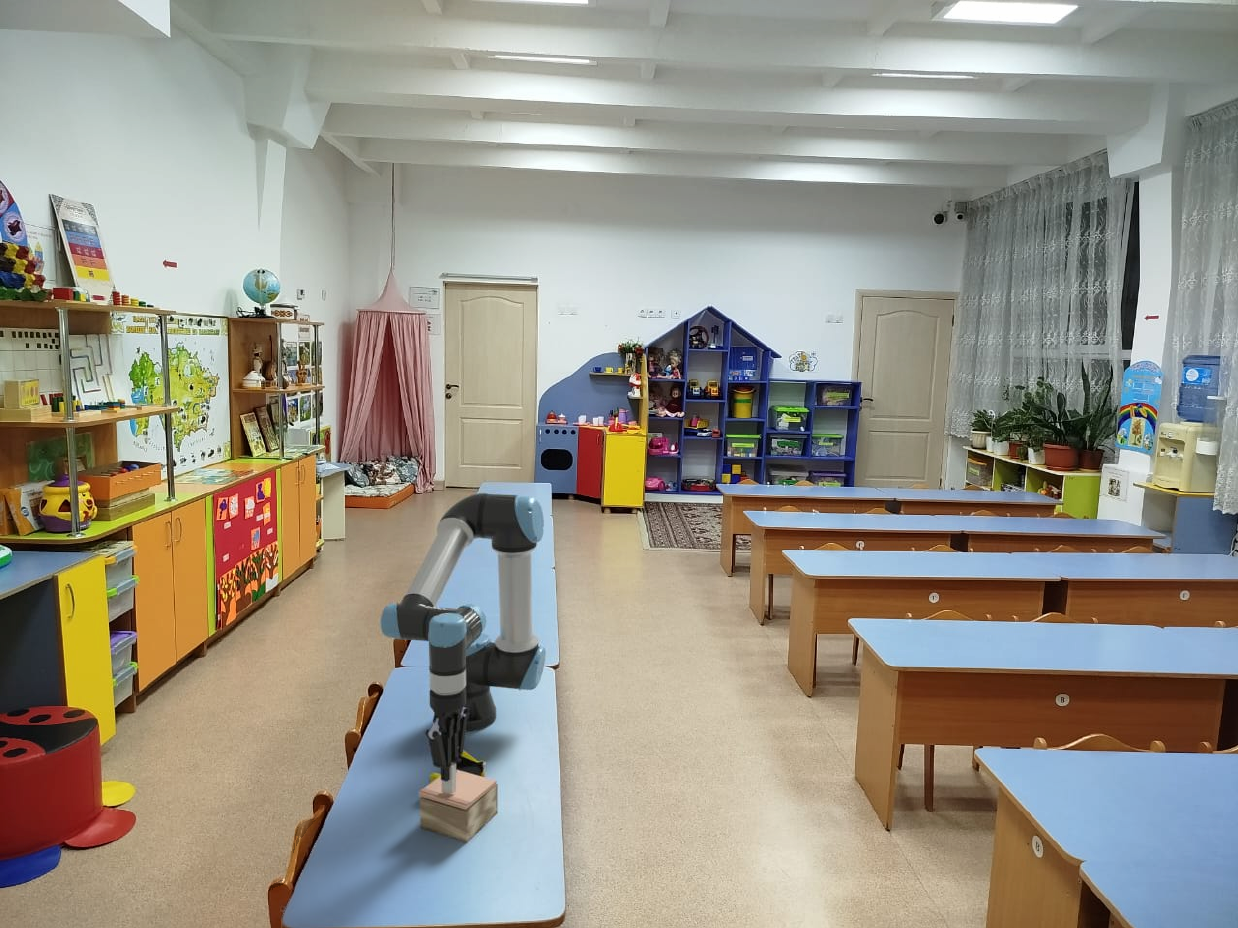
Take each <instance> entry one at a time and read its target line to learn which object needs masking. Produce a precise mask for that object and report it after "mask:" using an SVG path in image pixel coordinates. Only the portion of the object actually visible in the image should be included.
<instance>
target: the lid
mask: <svg viewBox="0 0 1238 928" xmlns="http://www.w3.org/2000/svg"><path fill="white" fill-rule="evenodd" d="M496 784H497V780H495V779H492V778H488V777H485V776H484V777H481V776H478V775H474V774H470V773H467V772H463V771H460V770H457V772H456V792H455V793H454V794H453V795H451V794H448V793H444V792H442V781H441V776H440V777H438V778H437V779H436V780H434V781H433V782H432V783H430V782H429V784H427V785H426V786H425V787H423V788H421V789H420V790H419V791H418V797H424V798H428V799H431V800H434V801H438V802H441V803H444V804H448V805H451V806H454V807H458V808H461V809H464V810H466V809H467V808H469V807H470V806H471V805H472V804H473V803H475V802H476V801H477V800H478V799H479V798H481V797H482V796H483V795H484V794H485V793H486V792H488V791H489V790H490V789H491V788H492V787H494V786H495V785H496Z"/></svg>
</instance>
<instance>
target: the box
mask: <svg viewBox="0 0 1238 928" xmlns="http://www.w3.org/2000/svg"><path fill="white" fill-rule="evenodd" d="M498 785H499V784H498V783H496V785H495V786H494V787H492V788H491V789H490V790H489V791H488V792H486V793H485V794H484V795H483V796H482V797H481V798H479V799H478V800H477V801H476V802H475V803H473V804H472V805H471V806H470V807H469V808H467V809H466V810H464V809H461V808H458V807H454V806H451V805H448V804H444V803H441V802H438V801H434V800H431V799H428V798H424V797H421V796H419V797H420V798H419V817H420V819H419V820H420V821H419V822H420V823H419V826H420V827H419V828H420V829H424V830H427V831H429V832H433V833H436V834H439V835H442V836H446V837H449V838H452V839H455V840H458V841H461V842H464V843H468V842H470V840H471V839H473V838H474V836H475V835H476V834H478V833H479V832H480V831H481V830H482V829H483V828H484V827H485V826H486V825H487V823H489V822H490V821H491V820H492V819H493V818H494V817H495V816H496V815H497V814H498V805H499V804H498V802H499V800H498V794H499V793H498V792H499V791H498Z"/></svg>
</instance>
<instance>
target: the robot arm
mask: <svg viewBox="0 0 1238 928" xmlns="http://www.w3.org/2000/svg"><path fill="white" fill-rule="evenodd" d="M544 523H545V520H544V514H543V508H542V506H541V503H540V501H538V499H537V498H535V497H534V496H526V495H525V496H524V495H522V494H502V493H501V494H499V493H497V494H496V493H487V492H486V493H484V492H481V493H479V492H478V493H474V494H471V495H467V496H466V497H464V498H462V499H461V500H459V501H458V502H456V503H454V504H453V505H452V506H451V507H450V508H449V509H448V510H447V511H446V512H445V513H444V514H443V516H442V517H441V519H440V521H439V522H438V524H437V526H436V534H437V535H436V536H435V538H434V541H433V542H432V544H431V546H430V547H429V549H428V551H427V553H426V555H425V557H424V559H423V560H422V562H421V564H420V566H419V568H418V570H417V572H416V574H415V575H414V577H413V579H412V582H411V583H410V585H409V586H408V589H407V591H406V593H405V595H404V596H403V598H402V600H401V601H400V603H397V602H395V603H389V604H386V606H385V607H384V609H383V610H382V613H381V617H380V628H381V632H382V635H384V636H385V637H387V638H390V639H391V638H392V639H396V640H401V641H402V640H409V641H411V640H412V641H422V642H428V654H429V655H428V659H429V661H428V662H429V664H428V665H429V666H428V667H429V689H430V690H429V707H430V709H431V710H432V711H433V718H432V723H433V725H432V727H431V728H430V729H429V728H428V729H426V730H425V733H424V735H425V736H426V737H427V739H428V744H429V749H430V753H431V759H432V765H433V766H434V767H436V768H439V769H440V774H441V781H442V792H444V793H448V794H451V795H453V794H454V793H455V792H456V772H457V763H456V762H458V763H460V762H461V758H458V756H459V755H462V754H463V750H464V749H465V741H466V732H467V731H468V732H469V731H475V730H480V729H483V728H484V729H485V728H487V727H489V726H490V725H491V724H493V723H494V722H495V721H496V719H497V707H496V705H495V701H494V699H493V695H492V692H491V687H492V688H493V687H495V688H501V689H502V688H503V689H512V690H518V691H521V690H525V691H532V690H535V689H536V688H537V687H538V685H539V684H540V682H541V678H542V675H543V672H544V667H545V662H546V657H547V656H546V648H545V647H544V646H541V645H540V646H539V638H538V636H537V635H536V634H534V633H533V600H532V599H533V592H532V591H533V590H532V589H533V588H532V587H533V586H532V585H533V584H532V552H533V551H534V550H535V549H536V548H537V545H538V544H537V543H539V542H541V540H542V538H543V536H544V526H545V524H544ZM475 539H488V540H491V549H492V550H493V551H494V552H496V553H497V564H498V565H497V566H498V567H497V569H498V598H499V599H498V601H499V602H498V603H499V629H500V630H499V631H500V632H499V633H500V635H498V636H497V637H496V638H495V640H494V642H491V641H492V639H491V637H490V635H488V634H486V633H483V631H484V629H485V628H486V625H487V617H486V614H485V612H484V611H483V609H481V608H480V607H479V606H478V605H476V604H472V603H466V604H463V605H461V606H459V607H458V608H449V607H447V608H446V607H437V605H438V603H439V601H440V599H441V597H442V595H443V593H444V591H445V589H446V587H447V584H448V583H449V580H450V579H451V577H452V575H453V573H454V571H455V569H456V566H457V565H458V562H459V561H460V558H461V557H462V555H463V552H464V551H465V548H467V547H469V546H471V545H472V543H473V541H474V540H475Z"/></svg>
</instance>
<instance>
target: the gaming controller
mask: <svg viewBox="0 0 1238 928" xmlns="http://www.w3.org/2000/svg"><path fill="white" fill-rule="evenodd" d="M458 758H461V762H460V763H458V762H456V763H457V770H460V771H463V772H467V773H470V774H474V775H478V776H481V777H485V767H486V765H487V762H486V761H484V760H480V761H479V760H477V759H476V758H474V757H473V756H472V755H471V754H470V753H468V752H467V751H465V750H464V749H463V754H462V755H459V756H458ZM440 776H441V773H438V772H433V773H431V774H430V775H429V784H430V783H432V782H433V781H434V780H436V779H437V778H438V777H440Z"/></svg>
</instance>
